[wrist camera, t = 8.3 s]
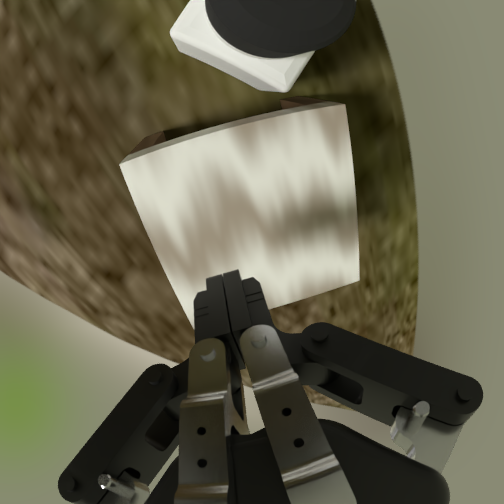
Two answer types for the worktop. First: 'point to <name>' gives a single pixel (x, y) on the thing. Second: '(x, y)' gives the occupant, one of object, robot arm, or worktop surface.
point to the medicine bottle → (260, 36)
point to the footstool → (253, 202)
